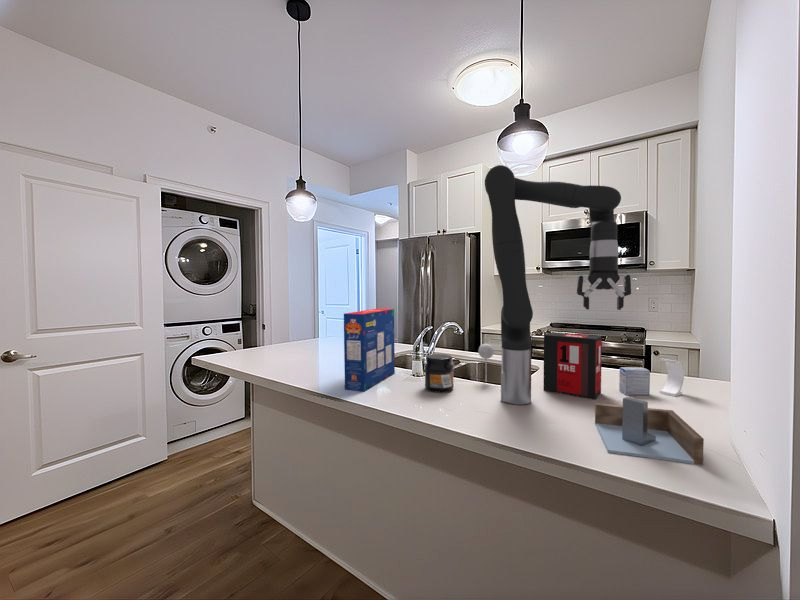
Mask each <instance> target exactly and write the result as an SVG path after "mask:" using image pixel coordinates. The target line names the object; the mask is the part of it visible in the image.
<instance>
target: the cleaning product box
mask: <svg viewBox="0 0 800 600" xmlns="http://www.w3.org/2000/svg"><path fill="white" fill-rule="evenodd" d="M602 341H603V336H602V335H594V334H593V335H592V334H578V333H569V332H568V333H566V332H565V333H564V332H554V331H552V332H548V333H546V334H543V391H544V392H548V393H554V394H559V395H565V396H572V397H575V398H576V397H577V398H583V399H588V400H594V401H595V400H597V399H598V397H599V396H600V395H601V394H602V354H603V353H602V348H603V346H602V343H603V342H602Z"/></svg>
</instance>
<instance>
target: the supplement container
mask: <svg viewBox="0 0 800 600" xmlns="http://www.w3.org/2000/svg"><path fill="white" fill-rule="evenodd" d="M425 362H426V363H425V365H424V388H425V389H426V390H427V391H429V392H433V393H448V392H450V391H452V390H453V389H454V364H453V356H452V355H450V354H445V353H433V354H429V355H426V357H425Z"/></svg>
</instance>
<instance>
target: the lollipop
mask: <svg viewBox="0 0 800 600" xmlns="http://www.w3.org/2000/svg"><path fill="white" fill-rule="evenodd" d="M477 351H478V355H479V356H480V357H481V358H482V359H484V360H485V364H484V365H485V366H484V367H485V373H484V374H485V383H487V382H488V381H487V380H488V378H487V375H488V374H487V373H488V371H487V369H488V364H487V363H488V361H487V360H490V359H491V358H492V357H493V355H494V354H495V350H494V347H493V346H492V345H491V344H489V343H482V344H481V345H479V347H478V350H477Z"/></svg>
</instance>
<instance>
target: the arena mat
mask: <svg viewBox="0 0 800 600" xmlns="http://www.w3.org/2000/svg"><path fill="white" fill-rule="evenodd" d="M595 426H596V429H597V432H598V435H599V436H600V438H601V440H602V443H603V444H604V445H603V446H604V447H605V449H606V452H607V453H609V454H610V453H611V454H617V455H624V456H631V457H632V456H633V457H640V458H649V459H656V460H661V461H662V460H663V461H670V462H677V463H678V462H679V463H685V464H692V465H695V464H694V460H693V459H692V458H691V457H690V456H689V455H688V454H687V453H686V451H685V450H684V449H683V448H682V447H681V446H680V445H679V444H678V443H677V442H676V440H675V439H674V438H673V437H672V436H671V435H670V434H669V433H668V432H667V431H662V430H653V429H647V433H649V434H652V435H655V436H656V441H654V442H652V443H649V444H647V445H645V446H643V447H642V446H639V445H637V444H634V443H631V442H628V441H625V440H622V426H616V425H607V424H598V423H596V425H595Z"/></svg>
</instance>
